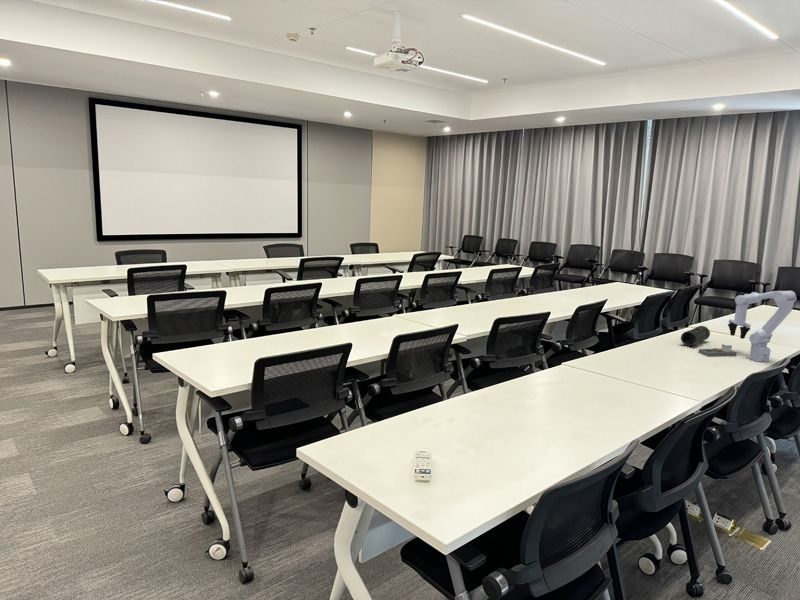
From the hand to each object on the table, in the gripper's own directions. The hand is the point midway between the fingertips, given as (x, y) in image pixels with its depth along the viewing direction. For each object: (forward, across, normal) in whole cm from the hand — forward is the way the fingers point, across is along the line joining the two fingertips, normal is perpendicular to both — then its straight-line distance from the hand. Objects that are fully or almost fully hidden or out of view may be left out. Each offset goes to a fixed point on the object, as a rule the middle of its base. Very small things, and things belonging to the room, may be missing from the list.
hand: (737, 336), depth 326 cm
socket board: (+10, +3, -15) cm, 18 cm away
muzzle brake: (+10, -22, -10) cm, 26 cm away
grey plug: (+10, +3, -9) cm, 14 cm away
